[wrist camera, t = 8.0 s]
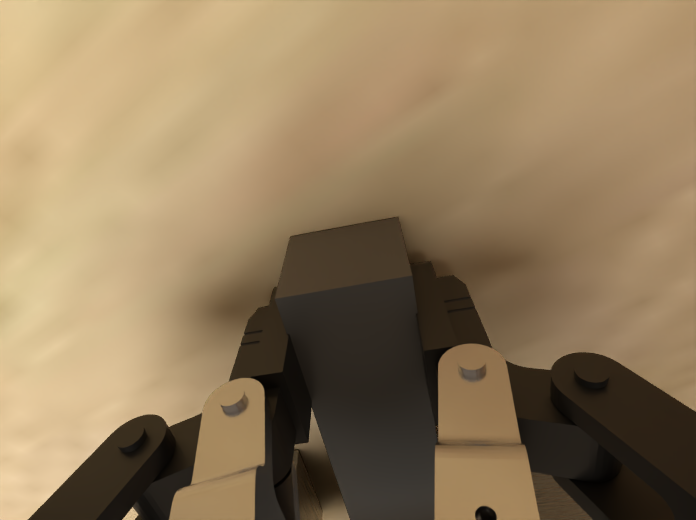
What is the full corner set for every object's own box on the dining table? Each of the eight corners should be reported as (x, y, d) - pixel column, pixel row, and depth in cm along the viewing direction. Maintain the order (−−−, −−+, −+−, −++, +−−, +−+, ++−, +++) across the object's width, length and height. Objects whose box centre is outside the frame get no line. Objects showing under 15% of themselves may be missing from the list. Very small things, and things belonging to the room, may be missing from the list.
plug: (263, 241, 12) (230, 333, 9) (425, 212, 12) (457, 296, 8) (382, 600, 22) (389, 709, 19) (473, 591, 22) (496, 701, 18)
